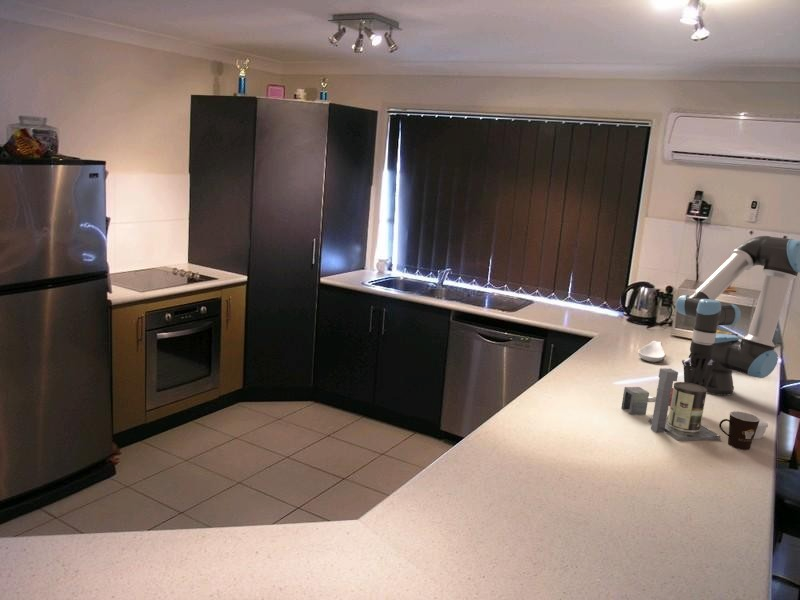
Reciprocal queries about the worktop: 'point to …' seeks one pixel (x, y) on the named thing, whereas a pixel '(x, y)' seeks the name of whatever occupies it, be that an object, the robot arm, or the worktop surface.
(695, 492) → the worktop surface
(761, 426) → the ramekin
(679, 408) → the coffee can
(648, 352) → the spoon rest
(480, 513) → the worktop surface
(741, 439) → the coffee mug
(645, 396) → the press
